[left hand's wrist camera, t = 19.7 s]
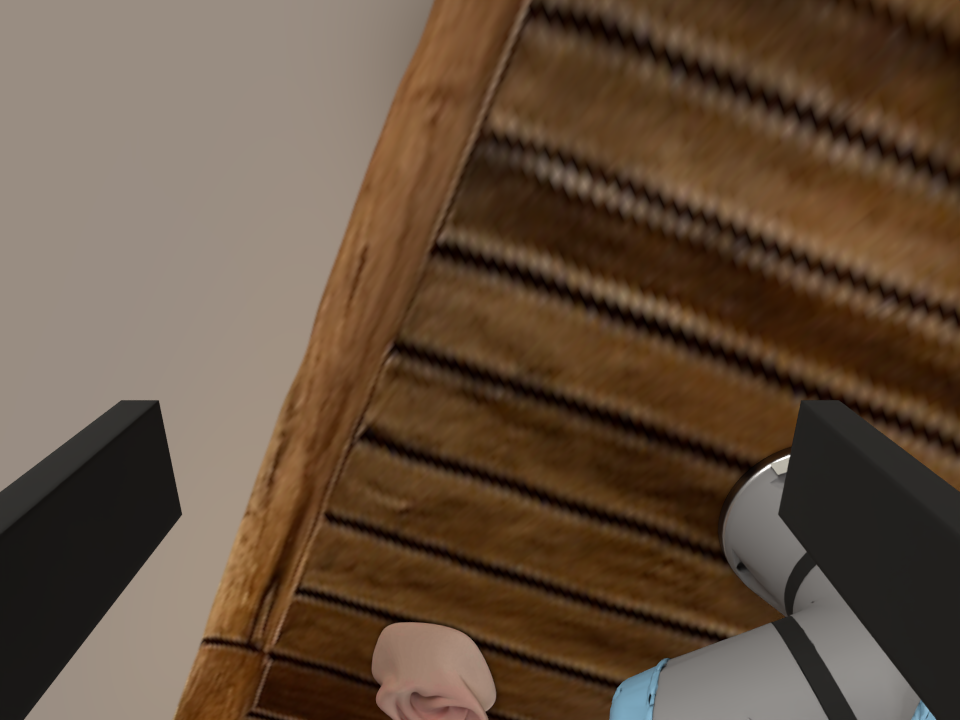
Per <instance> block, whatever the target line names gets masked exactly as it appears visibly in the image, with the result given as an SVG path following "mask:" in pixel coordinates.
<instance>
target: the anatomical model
mask: <svg viewBox="0 0 960 720" xmlns="http://www.w3.org/2000/svg"><path fill="white" fill-rule="evenodd" d="M372 674H373V677H374V678H375V680H376V681H377V682H378V683H379V684H380V685H381V688H380V689H379V691H378V693H377V696H376V702H377V705H378V706H379V707H380V708H381V709H382V710H383V711H384V712H385V713H386V714H387V715H389V716H390V717H391V718H392V719H393V720H488V717H487V715H486V713H485V712H486V711H487V710H488V709H490V708H491V707H492V705H493V704H494V702H495V699H496V690H495V685H494V682H493V679H492V676H491V673H490V670H489V668H488V666H487V663H486V661H485V659H484V657H483V655H482V654H481V652H480V650H479V649H478V647H477V645H476V644H475V643H474V642H473V641H472V639H471V638H469V637H468V636H467V635H465V634H464V633H462V632H460V631H458V630H456V629H453V628H450V627H446V626H442V625H436V624H428V623H416V622H401V623H395V624H391V625H389V626H387V627H386V628H385V629H384V630H383V631H382V633H381V635H380V637H379V639H378V641H377V644H376V647H375V650H374V654H373V660H372Z"/></svg>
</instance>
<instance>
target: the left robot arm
mask: <svg viewBox="0 0 960 720" xmlns="http://www.w3.org/2000/svg"><path fill="white" fill-rule="evenodd" d="M181 515H182V512H181V507H180V502H179V497H178V492H177V487H176V482H175V478H174V473H173V468H172V463H171V458H170V453H169V448H168V443H167V439H166V434H165V429H164V424H163V419H162V414H161V409H160V404H159V401H158V400H121V401H120V402H119V403H117V404H116V405H115V406H113V407H112V408H111V409H109V410H108V411H107V412H105V413H104V414H103V415H101V416H100V417H99V418H97V419H96V420H95V421H93V422H92V423H91V424H90V425H88V426H87V427H86V428H84V429H83V430H82V431H80V432H79V433H78V434H76V435H75V436H74V437H72V438H71V439H70V440H68V441H67V442H66V443H64V444H63V445H62V446H61V447H59V448H58V449H57V450H55V451H54V452H53V453H51V454H50V455H49V456H47V457H46V458H45V459H43V460H42V461H41V462H39V463H38V464H37V465H36V466H34V467H33V468H32V469H30V470H29V471H28V472H26V473H25V474H24V475H22V476H21V477H20V478H18V479H17V480H16V481H14V482H13V483H12V484H10V485H9V486H8V487H7V488H5V489H4V490H3V491H1V492H0V720H24V719H25V717H26V716H27V715H28V714H29V712H30V711H31V710H32V708H33V707H34V706H35V705H36V703H37V702H38V701H39V699H40V698H41V697H42V695H43V694H44V693H45V692H46V690H47V689H48V688H49V686H50V685H51V684H52V682H53V681H54V680H55V679H56V677H57V676H58V675H59V673H60V672H61V671H62V670H63V668H64V667H65V666H66V664H67V663H68V662H69V660H70V659H71V658H72V657H73V655H74V654H75V653H76V651H77V650H78V649H79V647H80V646H81V645H82V644H83V642H84V641H85V640H86V638H87V637H88V636H89V635H90V633H91V632H92V631H93V629H94V628H95V627H96V625H97V624H98V623H99V622H100V620H101V619H102V618H103V616H104V615H105V614H106V612H107V611H108V610H109V609H110V607H111V606H112V605H113V603H114V602H115V601H116V600H117V598H118V597H119V596H120V594H121V593H122V592H123V590H124V589H125V588H126V587H127V585H128V584H129V583H130V581H131V580H132V579H133V577H134V576H135V575H136V574H137V572H138V571H139V570H140V568H141V567H142V566H143V565H144V563H145V562H146V561H147V559H148V558H149V557H150V555H151V554H152V553H153V552H154V550H155V549H156V548H157V546H158V545H159V544H160V542H161V541H162V540H163V539H164V537H165V536H166V535H167V533H168V532H169V531H170V530H171V528H172V527H173V526H174V524H175V523H176V522H177V520H178V519H179V518H180V516H181ZM718 535H719V541H720V546H721V548H722V551H723V553H724V555H725V557H726V559H727V561H728V563H729V564H730V566H731V568H732V569H733V571H734V572H735V574H736V575H737V576H738V577H739V578H740V579H741V580H742V582H743V583H744V584H745V585H746V586H747V587H748V588H750V589H751V590H752V591H753V592H755V593H756V594H757V595H759V596H760V597H761V598H762V599H764V600H765V601H766V602H768V603H769V604H770V605H771V606H773V607H774V608H775V609H777V610H778V611H779V612H780V613H782V614H783V615H784V616H786V617H785V618H782V619H780V620H777V621H775V622H771V623H769V624H766V625H763V626H761V627H758V628H755V629H753V630H750V631H747V632H745V633H742V634H739V635H736V636H734V637H731V638H728V639H725V640H723V641H720V642H717V643H714V644H712V645H709V646H706V647H703V648H701V649H698V650H695V651H692V652H690V653H687V654H684V655H682V656H679V657H676V658H673V659H670V658H666V659H664V660H662V661H660V662H659V663H658V665H657V666H656V667H653V668H651V669H649V670H647V671H644V672H642V673H640V674H637V675H635V676H633V677H631V678H628V679H627V680H625V681H624V682H623V683H621V685H620V686H619V687H618V688H617V690H616V692H615V695H614V697H613V700H612V706H611V709H610V720H960V492H959V491H957V490H956V489H955V488H954V487H952V486H951V485H950V484H948V483H947V482H946V481H944V480H943V479H942V478H940V477H939V476H938V475H936V474H935V473H934V472H932V471H931V470H930V469H928V468H927V467H926V466H925V465H923V464H922V463H921V462H919V461H918V460H917V459H915V458H914V457H913V456H911V455H910V454H909V453H907V452H906V451H905V450H903V449H902V448H901V447H899V446H898V445H897V444H896V443H894V442H893V441H892V440H890V439H889V438H888V437H886V436H885V435H884V434H882V433H881V432H880V431H878V430H877V429H876V428H874V427H873V426H872V425H870V424H869V423H868V422H867V421H865V420H864V419H863V418H861V417H860V416H859V415H857V414H856V413H855V412H853V411H852V410H851V409H849V408H848V407H847V406H845V405H844V404H843V403H841V402H840V401H839V400H801V404H800V409H799V414H798V419H797V424H796V429H795V433H794V438H793V443H792V447H789V448H787V449H784V450H781V451H779V452H777V453H774V454H772V455H770V456H769V457H767V458H765V459H763V460H762V461H760V462H759V463H757V464H756V465H755V466H753V467H752V468H751V469H750V470H748V471H747V472H746V473H745V474H744V475H743V476H742V477H741V478H740V479H739V480H738V482H737V483H736V484H735V485H734V487H733V488H732V489H731V491H730V493H729V494H728V496H727V498H726V500H725V502H724V504H723V507H722V510H721V513H720V517H719V524H718Z"/></svg>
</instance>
